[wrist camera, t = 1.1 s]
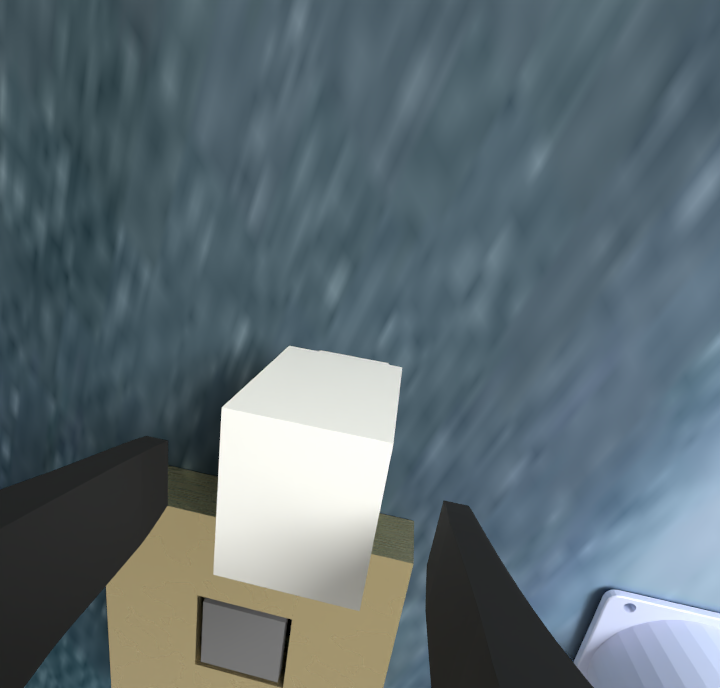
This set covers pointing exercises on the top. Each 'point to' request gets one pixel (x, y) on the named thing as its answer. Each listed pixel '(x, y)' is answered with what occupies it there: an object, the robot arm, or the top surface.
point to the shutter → (243, 639)
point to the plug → (305, 474)
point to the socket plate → (196, 582)
